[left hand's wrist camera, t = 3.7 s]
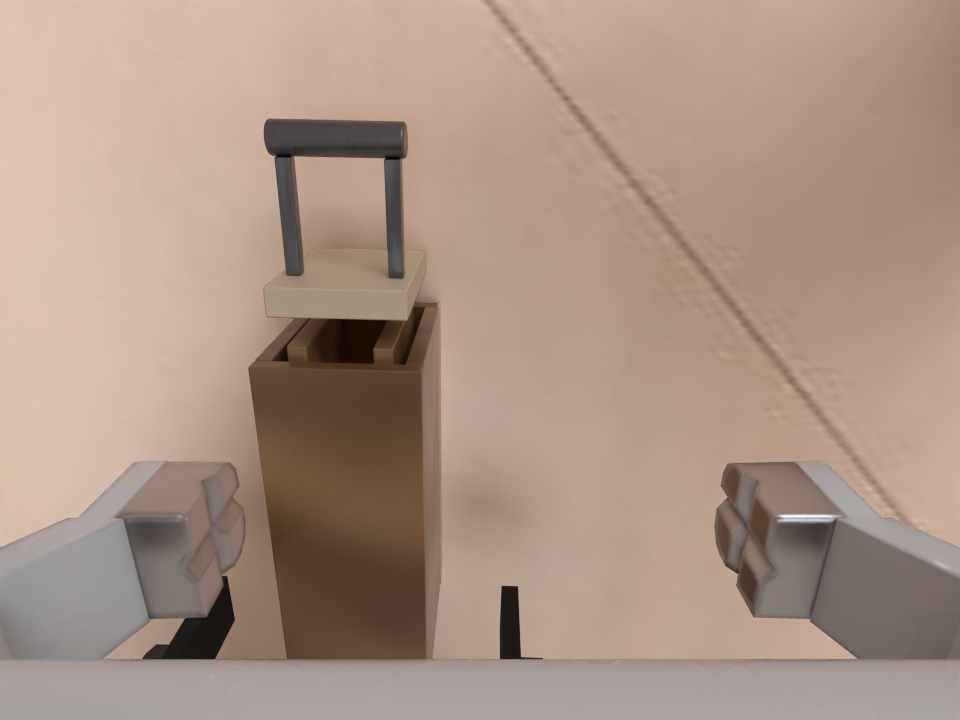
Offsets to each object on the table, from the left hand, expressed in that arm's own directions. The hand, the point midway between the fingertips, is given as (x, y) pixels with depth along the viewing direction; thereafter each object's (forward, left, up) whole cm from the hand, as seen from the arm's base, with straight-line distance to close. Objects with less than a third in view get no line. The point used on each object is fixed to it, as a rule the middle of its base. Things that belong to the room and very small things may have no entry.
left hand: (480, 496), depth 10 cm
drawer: (+6, -5, -21) cm, 22 cm away
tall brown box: (+12, -5, -22) cm, 25 cm away
